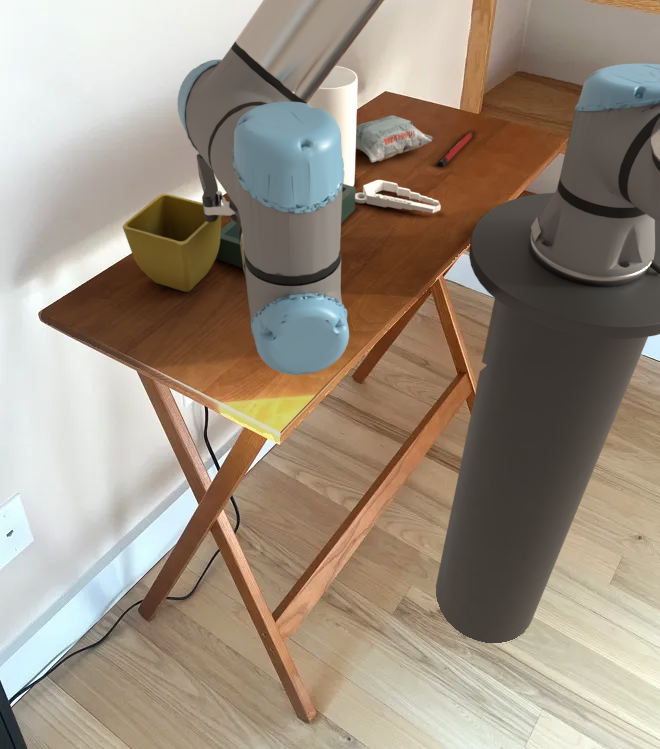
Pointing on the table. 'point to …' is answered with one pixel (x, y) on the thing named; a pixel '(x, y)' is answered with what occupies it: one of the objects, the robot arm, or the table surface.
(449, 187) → the table surface
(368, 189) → the stepped key frame
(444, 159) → the red marker pen
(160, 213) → the flower pot
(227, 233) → the tray
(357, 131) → the packaged food
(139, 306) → the table surface
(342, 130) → the cup
